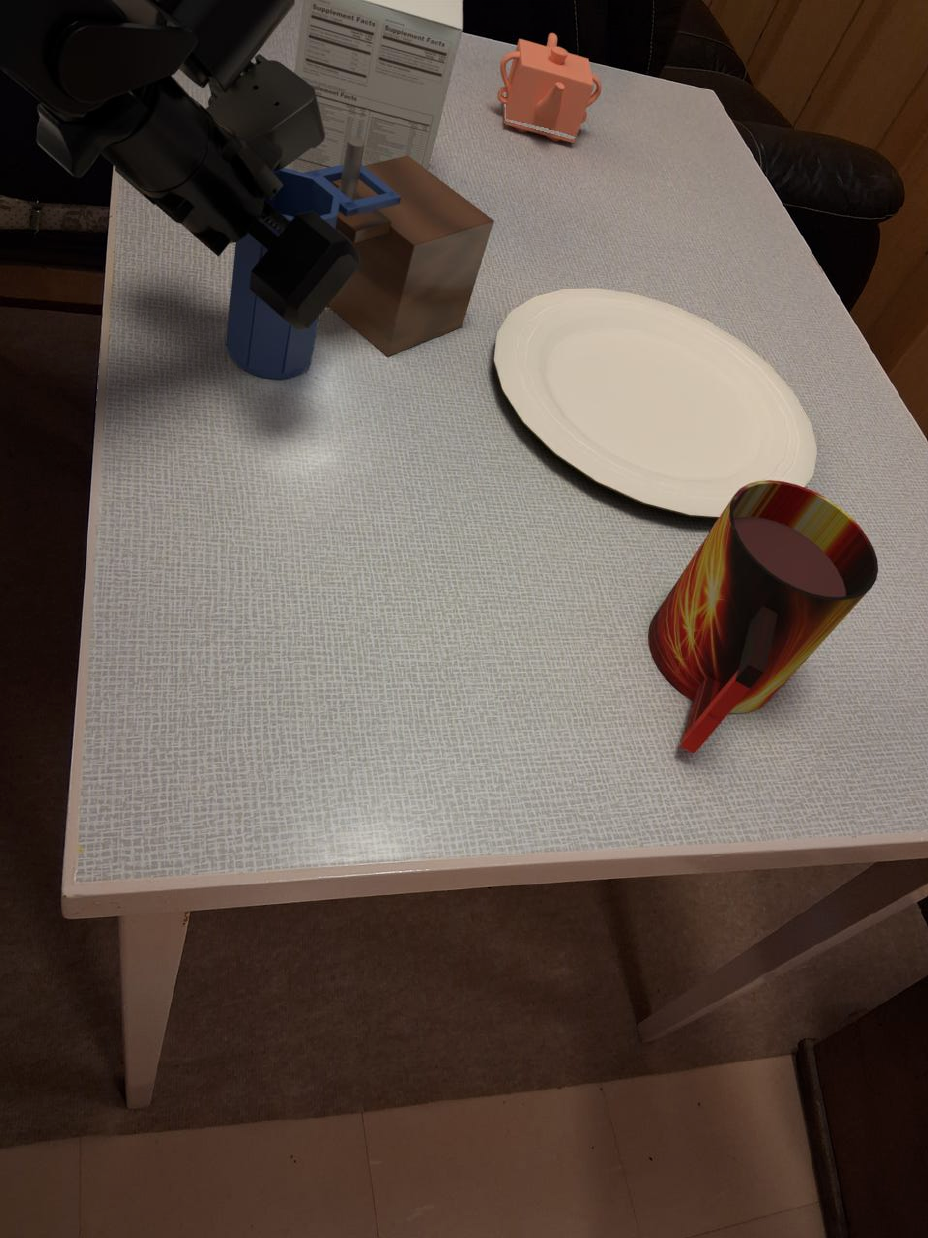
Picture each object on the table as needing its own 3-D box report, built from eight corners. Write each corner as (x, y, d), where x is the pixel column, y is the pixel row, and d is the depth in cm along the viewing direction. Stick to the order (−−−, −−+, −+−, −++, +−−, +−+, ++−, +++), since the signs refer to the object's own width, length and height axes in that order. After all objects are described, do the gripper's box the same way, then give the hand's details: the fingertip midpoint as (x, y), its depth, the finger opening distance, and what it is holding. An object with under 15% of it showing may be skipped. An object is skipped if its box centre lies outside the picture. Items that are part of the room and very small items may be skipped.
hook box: (354, 370, 75) (394, 182, 64) (273, 299, 78) (296, 107, 66) (462, 326, 83) (515, 151, 71) (384, 263, 86) (423, 85, 74)
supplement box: (417, 226, 91) (465, 29, 78) (277, 192, 88) (302, -19, 75) (421, 160, 99) (464, -29, 86) (293, 126, 97) (318, -74, 83)
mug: (673, 763, 60) (768, 649, 51) (637, 592, 68) (713, 469, 59) (810, 775, 62) (925, 669, 53) (758, 608, 70) (850, 492, 61)
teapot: (579, 109, 118) (604, 37, 111) (589, 168, 108) (617, 93, 102) (486, 83, 115) (506, 7, 109) (488, 141, 106) (510, 62, 100)
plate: (520, 266, 91) (527, 248, 90) (803, 371, 93) (813, 355, 92) (453, 453, 72) (460, 434, 71) (811, 581, 74) (824, 565, 72)
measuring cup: (261, 388, 71) (283, 229, 61) (209, 338, 73) (223, 175, 63) (374, 348, 78) (410, 198, 68) (323, 303, 80) (351, 151, 70)
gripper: (365, 112, 51) (454, 251, 66) (155, -46, 57) (280, 115, 72) (234, 276, 53) (350, 376, 67) (41, 106, 58) (187, 233, 73)
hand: (292, 269), depth 70 cm, fingers open, 7 cm apart
